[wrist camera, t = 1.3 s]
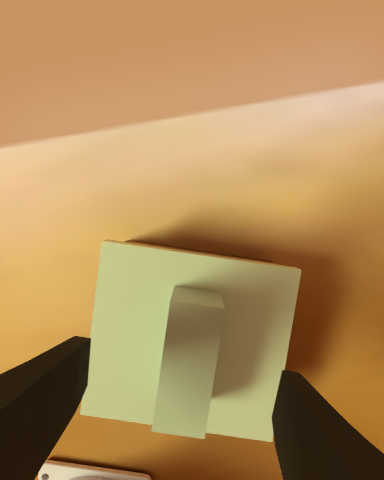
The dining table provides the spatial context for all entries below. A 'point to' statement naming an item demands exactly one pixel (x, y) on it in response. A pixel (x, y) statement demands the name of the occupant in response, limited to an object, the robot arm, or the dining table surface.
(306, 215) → the dining table surface
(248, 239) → the dining table surface
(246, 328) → the lid
